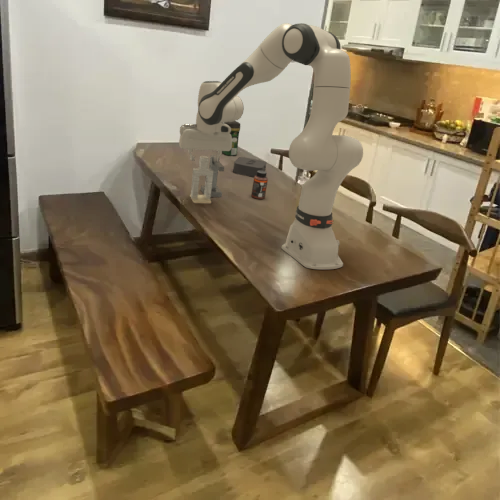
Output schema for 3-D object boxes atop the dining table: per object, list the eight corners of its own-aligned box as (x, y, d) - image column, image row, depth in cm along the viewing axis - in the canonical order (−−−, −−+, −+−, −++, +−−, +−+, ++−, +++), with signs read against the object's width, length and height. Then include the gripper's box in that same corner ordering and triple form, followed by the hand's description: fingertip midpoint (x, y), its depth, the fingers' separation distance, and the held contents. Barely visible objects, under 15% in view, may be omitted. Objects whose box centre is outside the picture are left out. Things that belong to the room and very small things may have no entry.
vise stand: (226, 203, 197) (231, 164, 190) (209, 202, 194) (213, 164, 188) (216, 190, 209) (220, 154, 203) (200, 190, 207) (204, 153, 200)
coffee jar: (218, 151, 270) (221, 117, 262) (230, 151, 274) (234, 117, 266) (226, 156, 263) (230, 121, 255) (239, 156, 267) (243, 122, 259)
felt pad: (211, 203, 194) (211, 201, 194) (193, 203, 192) (194, 201, 192) (206, 196, 201) (206, 194, 201) (189, 196, 198) (189, 194, 198)
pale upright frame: (210, 199, 196) (214, 158, 189) (192, 199, 194) (196, 157, 186) (208, 197, 199) (212, 156, 191) (190, 196, 196) (194, 155, 189)
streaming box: (260, 179, 234) (262, 168, 232) (231, 173, 236) (233, 163, 234) (265, 171, 247) (267, 161, 245) (238, 166, 249) (239, 156, 247)
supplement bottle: (263, 200, 206) (267, 174, 201) (249, 197, 207) (253, 172, 202) (266, 196, 211) (270, 171, 206) (252, 193, 212) (256, 168, 207)
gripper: (182, 125, 177) (179, 162, 183) (235, 128, 185) (230, 164, 190) (178, 121, 183) (176, 157, 189) (230, 125, 190) (226, 159, 196)
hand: (204, 160), depth 190 cm, fingers open, 8 cm apart
